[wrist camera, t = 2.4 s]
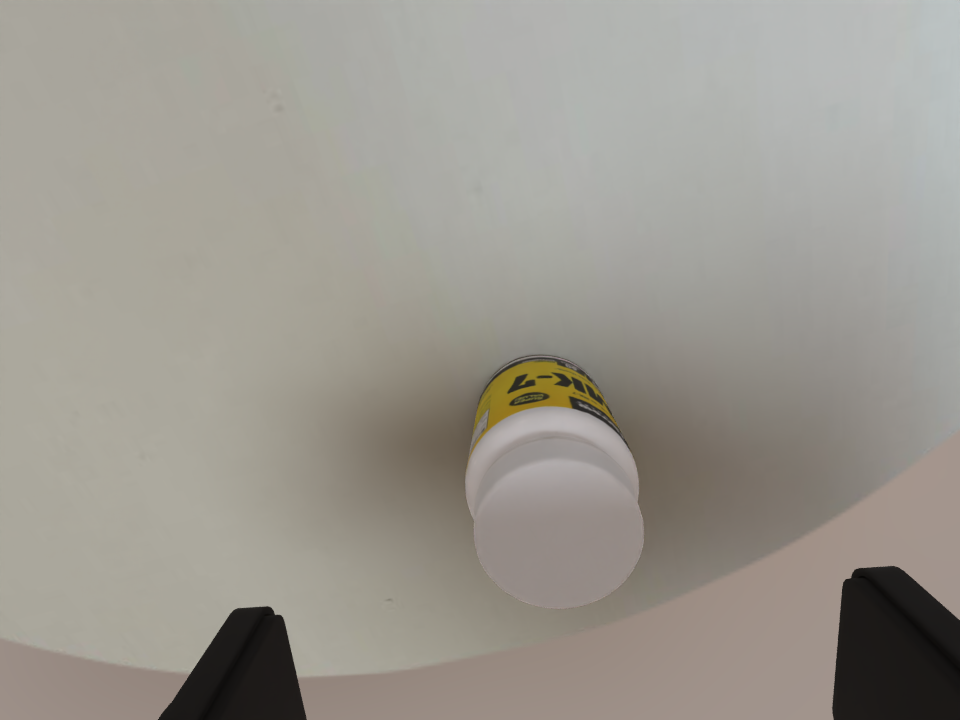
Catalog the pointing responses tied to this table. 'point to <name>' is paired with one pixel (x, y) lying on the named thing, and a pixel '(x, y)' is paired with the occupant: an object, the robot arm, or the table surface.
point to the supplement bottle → (552, 486)
